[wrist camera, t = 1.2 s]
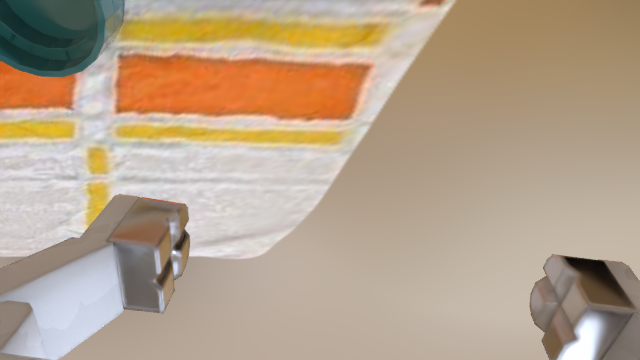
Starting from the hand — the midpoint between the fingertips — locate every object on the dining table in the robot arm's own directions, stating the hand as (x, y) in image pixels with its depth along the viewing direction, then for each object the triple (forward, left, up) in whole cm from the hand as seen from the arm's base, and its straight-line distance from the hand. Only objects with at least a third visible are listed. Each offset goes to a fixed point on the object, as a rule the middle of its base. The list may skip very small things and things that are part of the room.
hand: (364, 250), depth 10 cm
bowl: (+13, -22, -35) cm, 43 cm away
